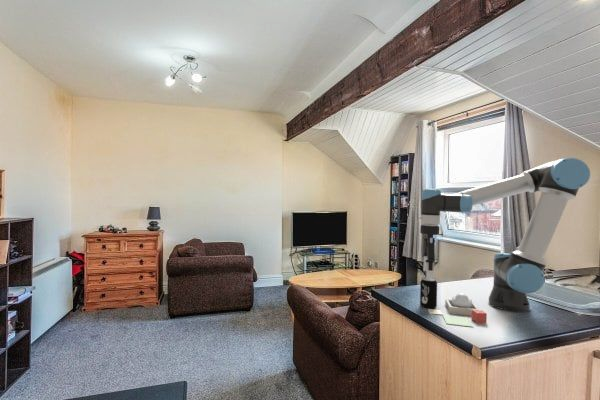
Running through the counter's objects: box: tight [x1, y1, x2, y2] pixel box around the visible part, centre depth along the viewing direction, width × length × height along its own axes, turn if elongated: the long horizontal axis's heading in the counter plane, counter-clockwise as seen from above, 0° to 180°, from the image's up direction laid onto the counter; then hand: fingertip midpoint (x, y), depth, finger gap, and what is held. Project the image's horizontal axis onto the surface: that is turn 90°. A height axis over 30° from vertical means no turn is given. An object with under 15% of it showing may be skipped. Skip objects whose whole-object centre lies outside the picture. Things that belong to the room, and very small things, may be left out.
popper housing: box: [444, 298, 480, 317], centre depth 134 cm, size 11×11×2 cm
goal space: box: [442, 314, 474, 328], centre depth 121 cm, size 9×9×1 cm
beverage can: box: [419, 276, 438, 310], centre depth 137 cm, size 7×7×12 cm
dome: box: [451, 292, 473, 308], centre depth 134 cm, size 8×8×5 cm
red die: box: [471, 309, 488, 324], centre depth 122 cm, size 4×4×4 cm
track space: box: [427, 308, 444, 316], centre depth 131 cm, size 5×5×1 cm
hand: (428, 274), depth 137 cm, fingers open, 13 cm apart
